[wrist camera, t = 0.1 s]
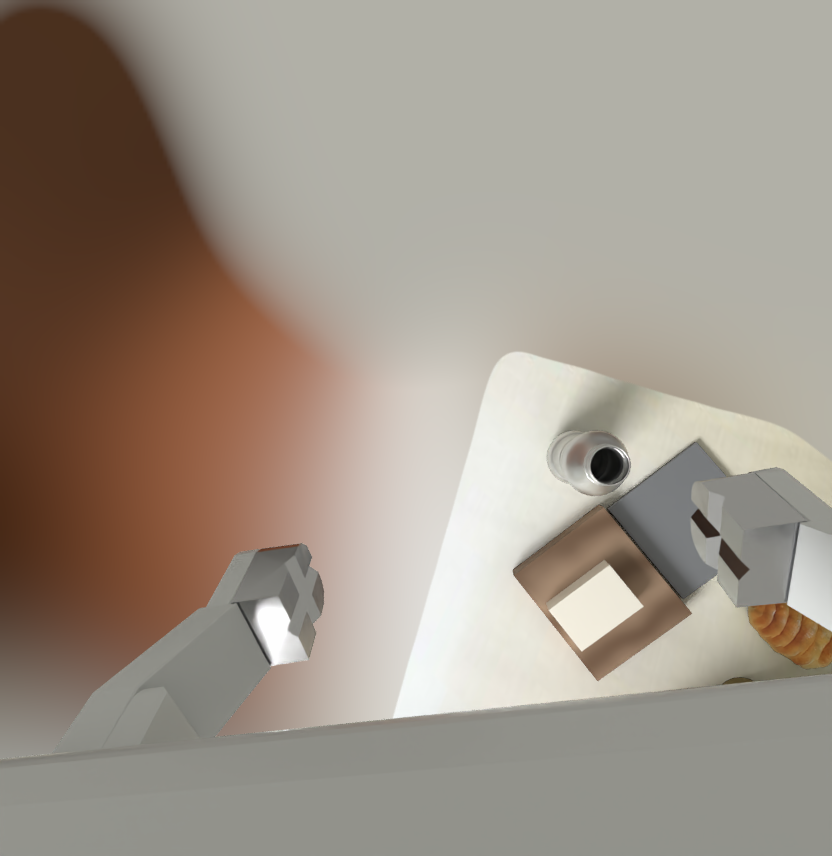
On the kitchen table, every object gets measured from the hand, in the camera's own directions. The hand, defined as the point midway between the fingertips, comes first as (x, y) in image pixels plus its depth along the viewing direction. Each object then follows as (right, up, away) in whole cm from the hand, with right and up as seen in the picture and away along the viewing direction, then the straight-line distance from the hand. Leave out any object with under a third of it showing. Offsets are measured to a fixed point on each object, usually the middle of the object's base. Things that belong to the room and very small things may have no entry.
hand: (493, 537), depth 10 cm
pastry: (+44, -22, +49) cm, 69 cm away
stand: (+21, -18, +51) cm, 58 cm away
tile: (+20, -19, +49) cm, 56 cm away
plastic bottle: (+18, -1, +52) cm, 56 cm away
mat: (+32, -9, +50) cm, 60 cm away
